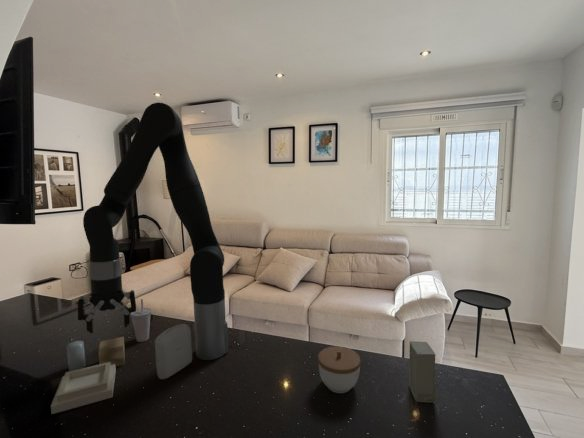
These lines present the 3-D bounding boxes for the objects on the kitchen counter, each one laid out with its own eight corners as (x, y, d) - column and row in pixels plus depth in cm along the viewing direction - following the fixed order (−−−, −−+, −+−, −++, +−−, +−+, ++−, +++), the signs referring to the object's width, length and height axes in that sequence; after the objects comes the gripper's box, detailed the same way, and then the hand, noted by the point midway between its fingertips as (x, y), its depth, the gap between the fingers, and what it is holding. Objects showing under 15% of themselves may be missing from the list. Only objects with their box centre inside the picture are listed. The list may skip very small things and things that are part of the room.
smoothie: (147, 344, 99) (144, 303, 97) (128, 344, 99) (125, 303, 97) (156, 334, 105) (154, 295, 103) (138, 334, 105) (135, 295, 104)
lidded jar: (350, 370, 84) (351, 338, 83) (366, 397, 73) (367, 361, 72) (313, 374, 82) (313, 342, 81) (324, 402, 72) (324, 365, 71)
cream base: (115, 370, 85) (114, 358, 84) (112, 397, 74) (111, 384, 74) (63, 383, 79) (62, 371, 79) (51, 414, 69) (50, 400, 68)
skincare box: (434, 403, 71) (436, 355, 70) (415, 402, 71) (417, 354, 70) (425, 386, 77) (427, 341, 76) (407, 385, 78) (409, 340, 76)
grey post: (86, 361, 89) (84, 339, 88) (84, 369, 85) (82, 345, 85) (70, 365, 87) (67, 342, 86) (67, 373, 84) (64, 349, 83)
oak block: (125, 355, 93) (123, 336, 92) (124, 365, 87) (122, 345, 87) (102, 360, 90) (100, 341, 89) (99, 371, 85) (98, 351, 84)
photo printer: (164, 381, 80) (161, 337, 78) (154, 376, 82) (151, 333, 80) (194, 362, 88) (192, 322, 87) (184, 358, 91) (182, 318, 89)
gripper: (73, 282, 79) (77, 340, 81) (134, 275, 86) (136, 329, 87) (78, 274, 86) (82, 328, 88) (134, 268, 92) (137, 319, 94)
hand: (109, 329), depth 87 cm, fingers open, 8 cm apart
